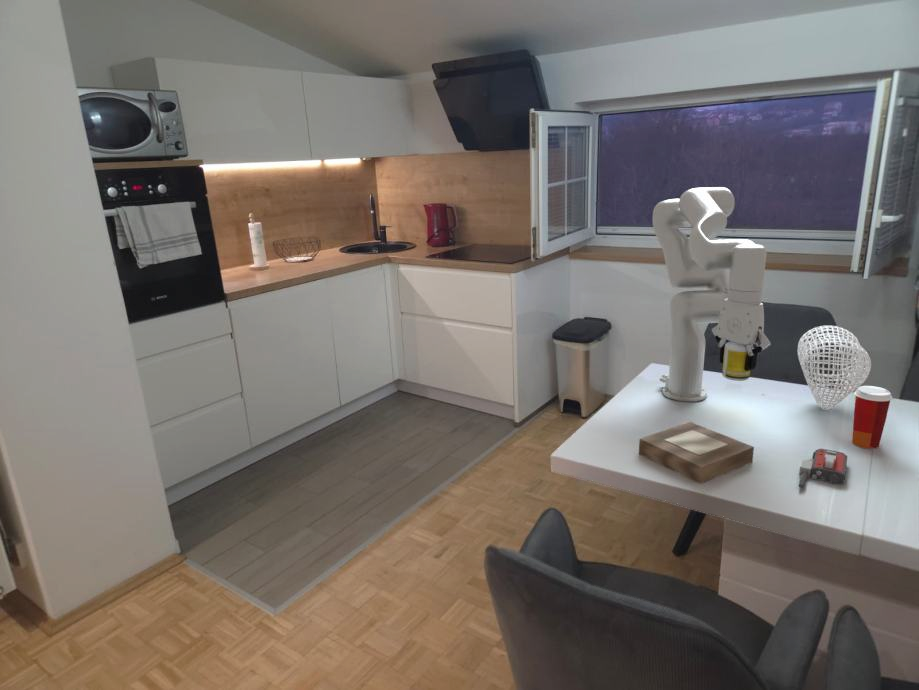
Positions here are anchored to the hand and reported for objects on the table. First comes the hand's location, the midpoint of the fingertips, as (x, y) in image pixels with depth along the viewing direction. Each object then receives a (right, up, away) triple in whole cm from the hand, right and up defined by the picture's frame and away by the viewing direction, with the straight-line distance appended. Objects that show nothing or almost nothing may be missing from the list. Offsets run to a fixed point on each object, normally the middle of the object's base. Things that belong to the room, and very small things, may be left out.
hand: (736, 365), depth 158 cm
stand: (-14, -22, -8) cm, 27 cm away
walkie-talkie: (+11, -25, -18) cm, 32 cm away
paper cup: (+30, -19, -3) cm, 36 cm away
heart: (+33, -13, +18) cm, 40 cm away
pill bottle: (0, -3, +1) cm, 3 cm away
